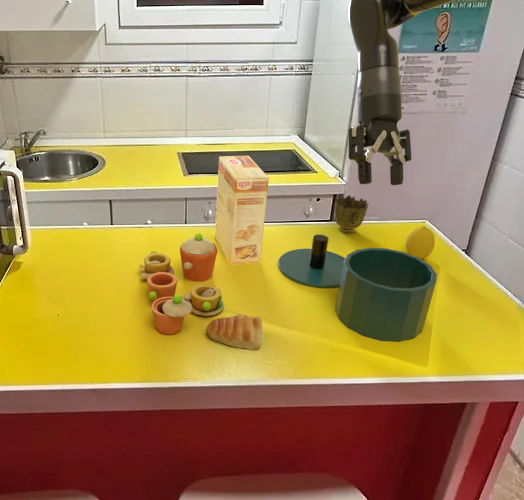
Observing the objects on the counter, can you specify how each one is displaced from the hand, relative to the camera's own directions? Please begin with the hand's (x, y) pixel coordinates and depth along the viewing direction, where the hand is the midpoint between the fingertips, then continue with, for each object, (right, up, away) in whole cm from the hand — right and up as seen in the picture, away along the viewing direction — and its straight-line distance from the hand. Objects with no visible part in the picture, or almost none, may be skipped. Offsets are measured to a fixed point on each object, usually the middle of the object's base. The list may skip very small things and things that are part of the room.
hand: (381, 184), depth 96 cm
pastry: (-28, -27, -9) cm, 40 cm away
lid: (-9, -16, +11) cm, 21 cm away
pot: (-2, -25, -4) cm, 25 cm away
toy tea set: (-37, -21, +2) cm, 43 cm away
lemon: (+14, -15, +16) cm, 25 cm away
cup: (+3, -8, +28) cm, 29 cm away
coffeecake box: (-25, -12, +19) cm, 34 cm away
